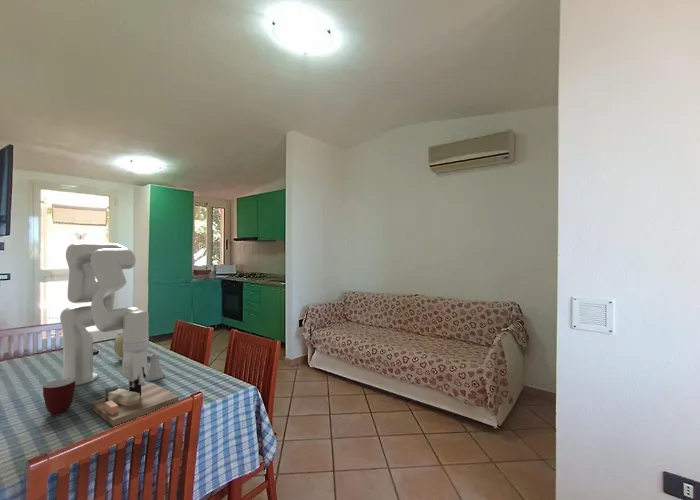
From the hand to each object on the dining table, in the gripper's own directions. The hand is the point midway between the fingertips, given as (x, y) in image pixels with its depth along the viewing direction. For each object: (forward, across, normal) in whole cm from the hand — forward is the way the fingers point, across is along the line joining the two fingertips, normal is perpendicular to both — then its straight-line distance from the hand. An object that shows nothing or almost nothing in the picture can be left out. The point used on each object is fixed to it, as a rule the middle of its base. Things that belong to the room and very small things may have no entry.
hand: (135, 396), depth 114 cm
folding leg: (0, -1, -4) cm, 4 cm away
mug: (+3, -16, -17) cm, 23 cm away
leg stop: (0, +4, -8) cm, 9 cm away
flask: (+3, -20, +15) cm, 25 cm away
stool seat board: (+3, +1, 0) cm, 3 cm away
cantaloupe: (+4, -57, +20) cm, 61 cm away
